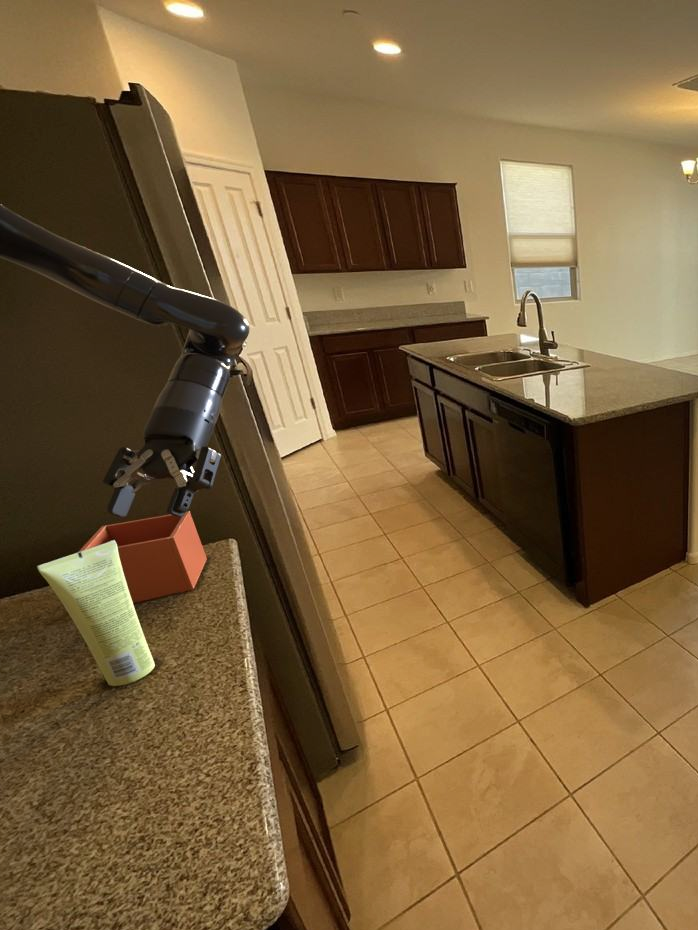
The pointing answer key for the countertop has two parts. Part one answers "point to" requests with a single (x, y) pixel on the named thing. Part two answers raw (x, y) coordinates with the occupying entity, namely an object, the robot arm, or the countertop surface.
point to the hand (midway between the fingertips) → (145, 515)
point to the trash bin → (155, 554)
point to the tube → (102, 610)
